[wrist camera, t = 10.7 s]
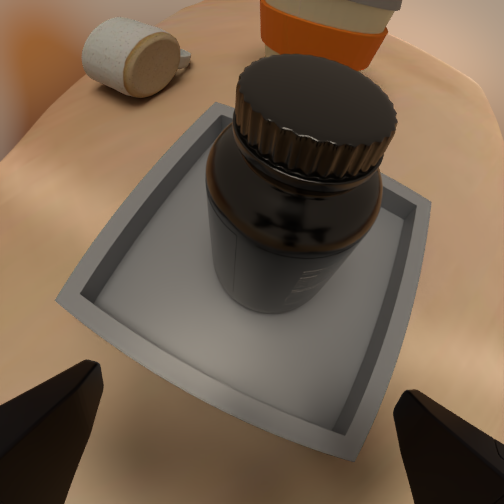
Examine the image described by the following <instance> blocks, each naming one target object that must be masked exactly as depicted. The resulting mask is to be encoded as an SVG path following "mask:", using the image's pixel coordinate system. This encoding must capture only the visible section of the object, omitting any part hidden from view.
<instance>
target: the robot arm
mask: <svg viewBox="0 0 504 504" xmlns="http://www.w3.org/2000/svg"><path fill="white" fill-rule="evenodd" d="M103 387H104V384H103V378H102V372H101V367H100V364H99V363H98V362H95V361H91V360H83V361H82V362H80V363H78V364H76V365H74V366H73V367H71V368H69V369H67V370H65V371H63V372H62V373H60V374H58V375H56V376H54V377H52V378H51V379H49V380H47V381H45V382H43V383H41V384H39V385H38V386H36V387H34V388H32V389H30V390H28V391H26V392H25V393H23V394H21V395H19V396H17V397H15V398H13V399H12V400H10V401H8V402H6V403H4V404H2V405H0V504H64V503H65V500H66V497H67V494H68V491H69V489H70V486H71V483H72V480H73V478H74V475H75V472H76V470H77V467H78V464H79V462H80V459H81V457H82V454H83V452H84V449H85V447H86V444H87V442H88V439H89V437H90V434H91V431H92V427H93V424H94V420H95V416H96V413H97V409H98V406H99V403H100V399H101V396H102V393H103ZM393 416H394V421H395V426H396V431H397V436H398V441H399V447H400V452H401V456H402V459H403V463H404V466H405V470H406V473H407V477H408V481H409V484H410V488H411V492H412V496H413V500H414V504H504V444H502V443H500V442H499V441H497V440H496V439H493V438H492V437H491V436H489V435H487V434H486V433H484V432H483V431H481V430H479V429H478V428H476V427H475V426H473V425H471V424H470V423H468V422H467V421H465V420H463V419H462V418H460V417H459V416H457V415H456V414H454V413H452V412H451V411H449V410H448V409H446V408H445V407H443V406H442V405H440V404H438V403H437V402H435V401H434V400H432V399H431V398H429V397H428V396H426V395H425V394H423V393H421V392H420V391H418V390H416V389H413V390H406V391H404V392H403V394H402V395H401V397H400V399H399V401H398V402H397V404H396V406H395V408H394V411H393Z"/></svg>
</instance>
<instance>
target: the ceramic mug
mask: <svg viewBox="0 0 504 504" xmlns="http://www.w3.org/2000/svg"><path fill="white" fill-rule="evenodd" d="M190 58H191V54H190V53H189V52H187V51H185V50H183V49H180V46H179V43H178V41H177V40H176V38H175V37H173V36H172V35H171V34H169V33H168V32H166V31H164V30H162V29H160V28H158V27H154V26H150V25H147V24H144V23H141V22H138V21H135V20H132V19H129V18H122V17H117V18H112V19H109V20H107V21H105V22H103V23H102V24H100V25H99V26H98V27H96V28H95V29H94V30H93V31H92V33H91V34H90V35H89V37H88V38H87V40H86V42H85V45H84V48H83V51H82V64H83V68H84V70H85V72H86V74H87V75H88V76H89V77H90V78H92V79H93V80H95V81H98V82H100V83H102V84H104V85H106V86H109V87H111V88H113V89H115V90H117V91H119V92H121V93H123V94H125V95H128V96H133V97H139V98H144V97H148V96H152V95H153V94H155V93H157V92H159V91H160V90H162V89H163V88H164V87H165V86H166V85H167V84H168V83H169V82H170V81H171V79H172V78H173V76H174V75H175V73H176V71H177V69H182V68H186V67H187V66H188V64H189V61H190Z"/></svg>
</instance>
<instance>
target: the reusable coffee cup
mask: <svg viewBox="0 0 504 504" xmlns="http://www.w3.org/2000/svg"><path fill="white" fill-rule="evenodd" d="M401 3H402V0H260V19H261V38H262V41H263V42H264V43H265V57H269V56H271V55H281V54H303V55H313V56H316V57H323V58H326V59H329V60H333V61H337V62H339V63H341V64H343V65H346V66H349V67H350V68H352V69H353V70H356V71H358V72H360V71H361V70H364V69H365V68H367V67H368V66H369V64H370V62H371V61H372V59H373V57H374V55H375V54H376V52H377V50H378V49H379V47H380V45H381V43H382V42H383V40H384V38H385V36H386V35H387V33H388V30H387V28H386V25H387V24H388V22H389V20H390V18H391V17H392V15H393V13H394V11H398V10H400V7H401Z"/></svg>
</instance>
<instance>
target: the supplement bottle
mask: <svg viewBox="0 0 504 504" xmlns="http://www.w3.org/2000/svg"><path fill="white" fill-rule="evenodd" d="M396 114H397V113H396V111H395V110H394V108H393V103H392V102H391V101H390V100H389V98H388V95H386V94H385V93H384V92H383V91H382V90H381V88H380V87H379V86H378V85H376V84H375V83H373V81H372V80H371V79H369V78H367V77H365V76H364V75H363V74H361V73H360V72H358V71H356V70H353V69H352V68H350V67H349V66H346V65H343V64H341V63H339V62H337V61H333V60H329V59H326V58H323V57H316V56H313V55H303V54H281V55H271V56H269V57H264V58H261V59H260V60H258V61H255V62H252V63H251V65H250V66H247V67H245V69H244V72H243V73H241V74H240V76H239V81H238V83H237V87H236V104H235V109H234V113H233V119H232V123H230V124H229V125H228V126H227V127H226V128H225V129H224V130H223V131H222V132H221V133H220V135H219V136H218V137H217V139H216V140H215V142H214V143H213V145H212V147H211V149H210V152H209V155H208V158H207V162H206V173H205V182H206V194H207V206H208V217H209V227H210V237H211V247H212V256H213V263H214V268H215V272H216V275H217V277H218V279H219V282H220V283H221V285H222V287H223V288H224V289H225V291H226V292H227V293H228V294H229V295H230V296H231V297H232V298H233V299H234V300H236V301H237V302H238V303H240V304H242V305H243V306H245V307H247V308H249V309H252V310H255V311H259V312H264V313H282V312H287V311H291V310H294V309H296V308H298V307H301V306H302V305H304V304H305V303H307V302H308V301H309V300H311V299H312V298H313V297H314V296H315V295H316V294H317V293H318V292H319V291H320V290H321V289H322V287H323V286H324V285H325V284H326V283H327V282H328V280H329V279H330V278H331V277H332V276H333V275H334V273H335V272H336V271H337V270H338V269H339V268H340V266H341V265H342V264H343V263H344V262H345V260H346V259H347V258H348V257H349V256H350V254H351V253H352V252H353V251H354V249H355V248H356V247H357V246H358V245H359V243H360V242H361V241H362V240H363V238H364V237H365V236H366V234H367V233H368V232H369V230H370V229H371V227H372V226H373V224H374V223H375V221H376V219H377V217H378V214H379V212H380V209H381V204H382V197H383V184H382V177H381V173H380V169H379V166H380V164H381V162H382V159H383V156H384V152H385V151H386V149H387V147H388V145H389V143H390V142H391V140H392V138H393V136H394V134H395V130H396V126H397V123H398V121H397V119H396Z"/></svg>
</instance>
